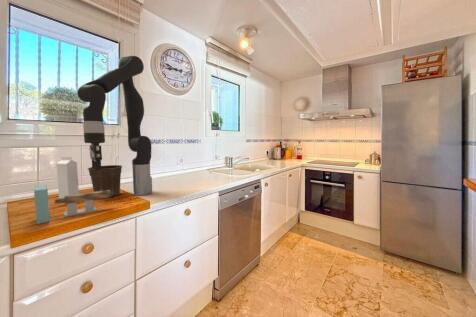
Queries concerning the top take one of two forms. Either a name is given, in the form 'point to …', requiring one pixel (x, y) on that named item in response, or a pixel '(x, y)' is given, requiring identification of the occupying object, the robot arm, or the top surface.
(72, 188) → the milk
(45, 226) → the top surface
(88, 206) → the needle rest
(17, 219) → the top surface
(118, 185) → the plant pot
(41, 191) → the teal rectangular frame
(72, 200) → the needle
